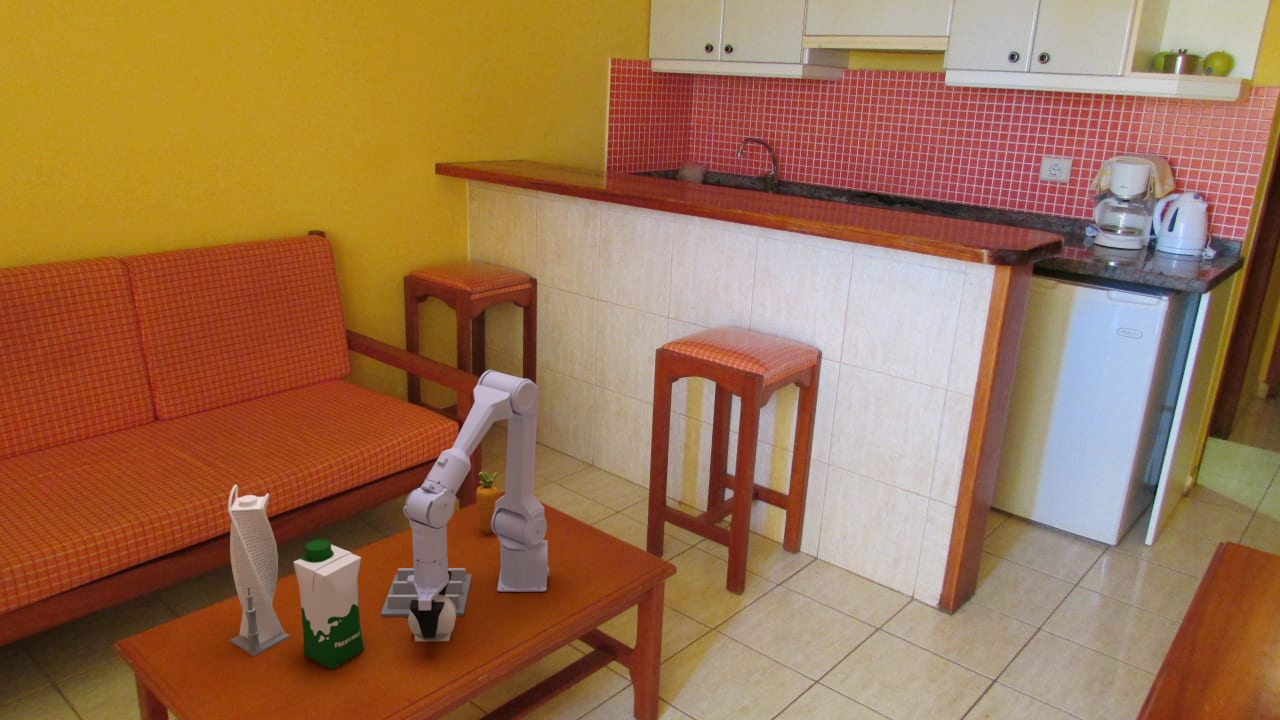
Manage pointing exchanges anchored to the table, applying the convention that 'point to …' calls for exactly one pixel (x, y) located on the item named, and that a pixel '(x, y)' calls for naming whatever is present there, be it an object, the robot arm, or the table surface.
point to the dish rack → (405, 592)
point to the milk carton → (329, 603)
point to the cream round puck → (444, 621)
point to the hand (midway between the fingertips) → (432, 624)
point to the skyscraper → (254, 573)
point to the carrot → (486, 500)
